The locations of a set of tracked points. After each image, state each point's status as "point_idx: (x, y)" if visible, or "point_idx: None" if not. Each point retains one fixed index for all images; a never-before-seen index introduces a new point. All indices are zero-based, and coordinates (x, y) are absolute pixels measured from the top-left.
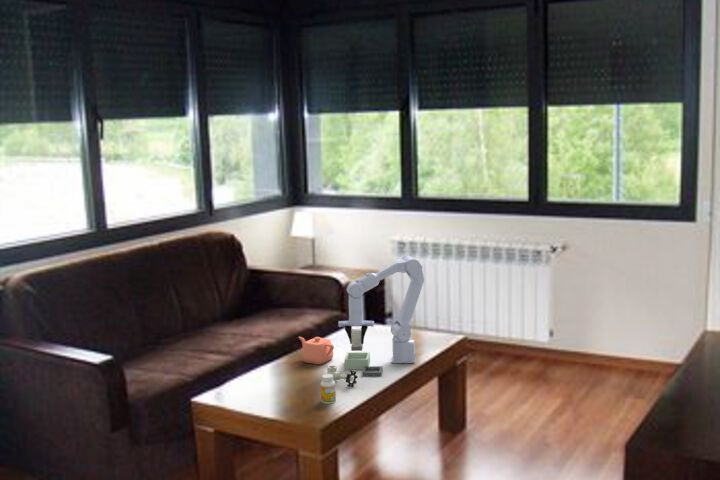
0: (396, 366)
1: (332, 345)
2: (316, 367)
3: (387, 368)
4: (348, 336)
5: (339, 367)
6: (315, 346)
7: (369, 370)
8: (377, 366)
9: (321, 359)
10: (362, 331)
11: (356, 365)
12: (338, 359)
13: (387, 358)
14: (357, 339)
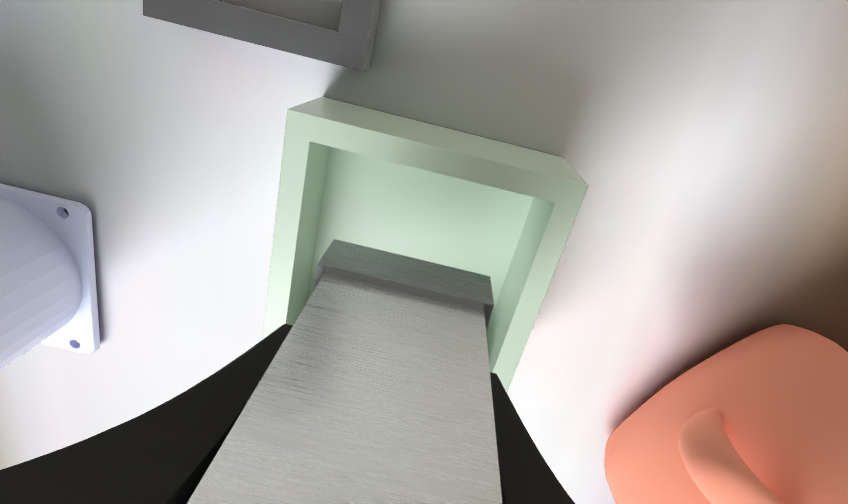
0: (36, 103)
1: (720, 478)
2: (823, 274)
3: (121, 60)
4: (559, 483)
5: (603, 217)
6: None
7: (312, 24)
8: (203, 25)
9: (788, 350)
10: (115, 497)
11: (442, 133)
12: (553, 417)
13: (144, 339)
14: (360, 367)
